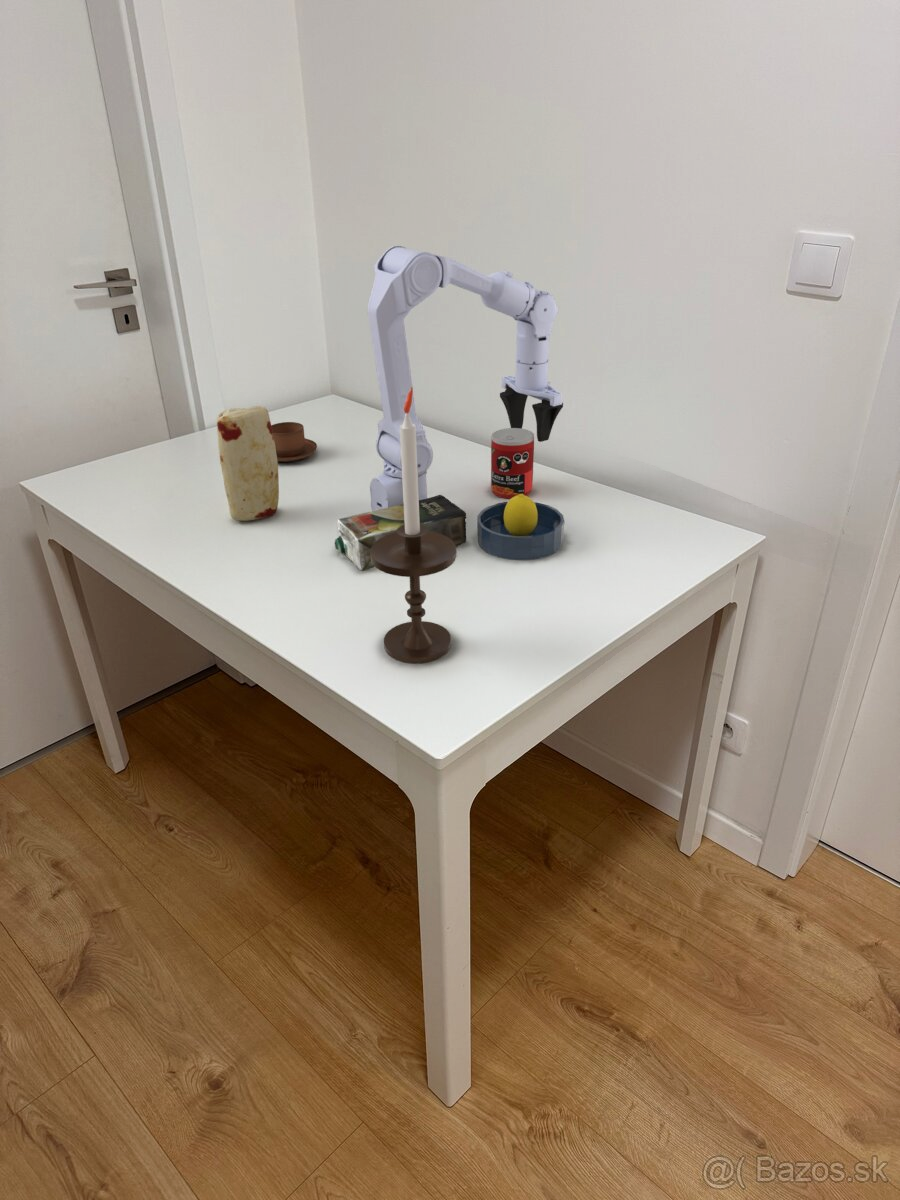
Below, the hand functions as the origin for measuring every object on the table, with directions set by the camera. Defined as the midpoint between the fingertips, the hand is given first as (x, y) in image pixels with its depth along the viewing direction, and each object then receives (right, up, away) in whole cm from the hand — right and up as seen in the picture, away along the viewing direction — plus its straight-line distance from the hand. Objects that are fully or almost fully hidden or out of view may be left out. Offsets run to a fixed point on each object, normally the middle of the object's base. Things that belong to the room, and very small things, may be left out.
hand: (529, 434), depth 155 cm
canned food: (-3, -10, +3) cm, 11 cm away
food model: (-49, -16, -5) cm, 52 cm away
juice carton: (-23, -22, -16) cm, 35 cm away
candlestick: (-19, -37, -42) cm, 59 cm away
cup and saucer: (-48, -1, +21) cm, 53 cm away
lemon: (-3, -20, -15) cm, 26 cm away
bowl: (-3, -21, -15) cm, 26 cm away
